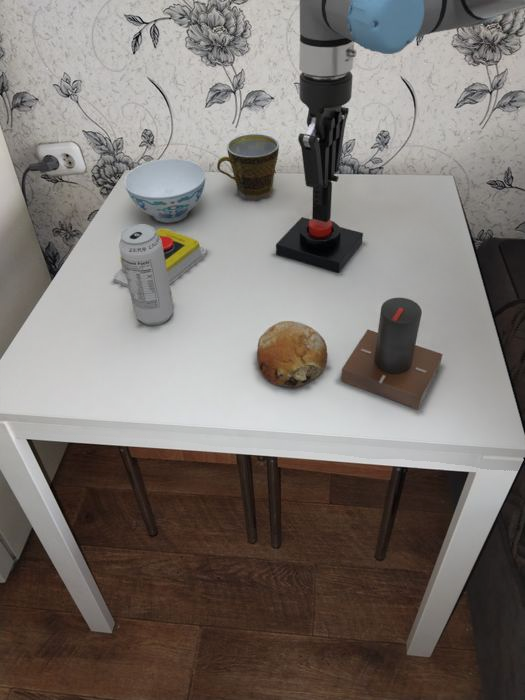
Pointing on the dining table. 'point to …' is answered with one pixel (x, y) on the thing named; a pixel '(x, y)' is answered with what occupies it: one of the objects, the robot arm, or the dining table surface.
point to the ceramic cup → (252, 164)
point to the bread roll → (291, 354)
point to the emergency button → (173, 255)
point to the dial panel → (392, 386)
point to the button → (320, 228)
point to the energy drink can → (146, 274)
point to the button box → (319, 246)
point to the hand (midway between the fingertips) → (321, 218)
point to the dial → (397, 335)
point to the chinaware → (166, 187)
